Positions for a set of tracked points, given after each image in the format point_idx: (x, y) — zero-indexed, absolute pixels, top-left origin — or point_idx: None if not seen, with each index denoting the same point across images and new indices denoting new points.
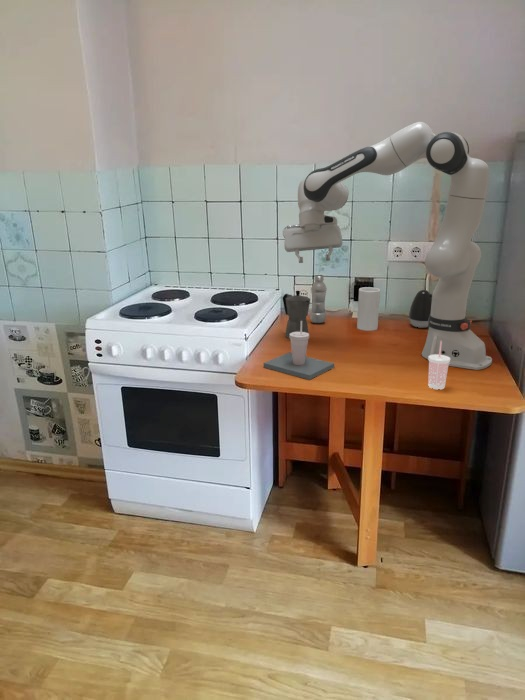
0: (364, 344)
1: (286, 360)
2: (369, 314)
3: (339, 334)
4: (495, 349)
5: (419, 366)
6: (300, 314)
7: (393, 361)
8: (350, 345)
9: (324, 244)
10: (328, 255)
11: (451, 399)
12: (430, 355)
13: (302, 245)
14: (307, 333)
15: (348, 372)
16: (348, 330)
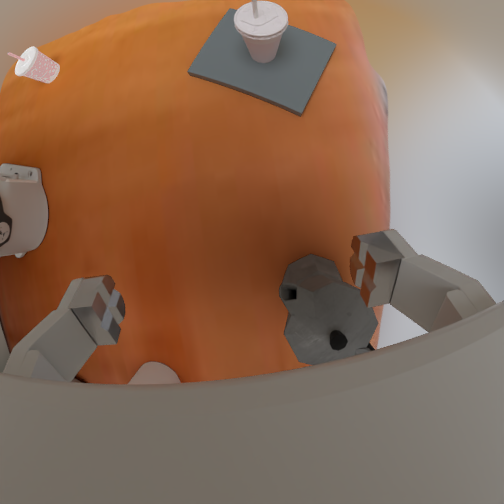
0: (140, 255)
1: (293, 61)
2: (137, 382)
3: (207, 326)
4: None
5: (54, 146)
6: (310, 281)
7: (85, 155)
8: (168, 239)
9: (38, 392)
10: (72, 300)
11: (50, 45)
12: (30, 62)
13: (454, 356)
14: (240, 26)
15: (162, 63)
16: (193, 359)
